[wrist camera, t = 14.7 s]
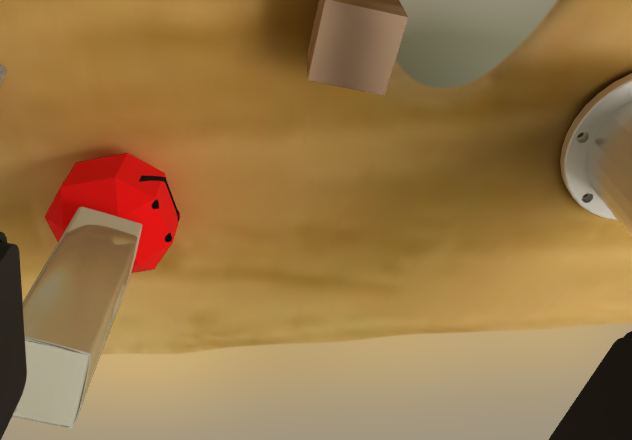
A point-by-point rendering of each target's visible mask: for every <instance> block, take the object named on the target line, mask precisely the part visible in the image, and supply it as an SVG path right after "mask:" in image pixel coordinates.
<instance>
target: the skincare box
mask: <svg viewBox="0 0 632 440" xmlns="http://www.w3.org/2000/svg"><path fill="white" fill-rule="evenodd" d="M141 230H142V224H140V223H137V222H133V221H130V220H127V219H124V218H121V217H117V216H114V215H110V214H107V213H104V212H100V211H96V210H93V209H89V208H86V207H79V208H78V210H77V211H76V213H75V215H74V216H73V218H72V220H71V222H70V223H69V225H68V227H67V228H66V230H65V232H64V234H63V235H62V237H61V239H60V240H59V242H58V244H57V246H56V247H55V249H54V251H53V252H52V254H51V256H50V257H49V259H48V261H47V262H46V264H45V266H44V267H43V269H42V271H41V272H40V274H39V276H38V278H37V279H36V281H35V283H34V284H33V286H32V288H31V290H30V291H29V293H28V295H27V296H26V298H25V300H24V302H23V303H22V304H23V319H24V335H25V350H26V366H27V377H26V383H25V387H24V391H23V394H22V396H21V398H20V401H19V403H18V405H17V407H16V409H15V411H14V413H13V415H12V417H17V418H21V419H26V420H31V421H36V422H41V423H46V424H50V425H56V426H62V427H68V428H73V427H74V425H75V423H76V420H77V417H78V414H79V411H80V409H81V406H82V403H83V401H84V398H85V395H86V393H87V390H88V387H89V384H90V382H91V379H92V376H93V374H94V371H95V369H96V366H97V363H98V361H99V358H100V356H101V353H102V350H103V348H104V345H105V342H106V340H107V337H108V334H109V332H110V329H111V326H112V324H113V321H114V319H115V316H116V313H117V311H118V308H119V306H120V303H121V301H122V298H123V295H124V293H125V290H126V287H127V284H128V281H129V278H130V275H131V271H132V268H133V264H134V261H135V257H136V253H137V248H138V244H139V239H140V235H141Z"/></svg>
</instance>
